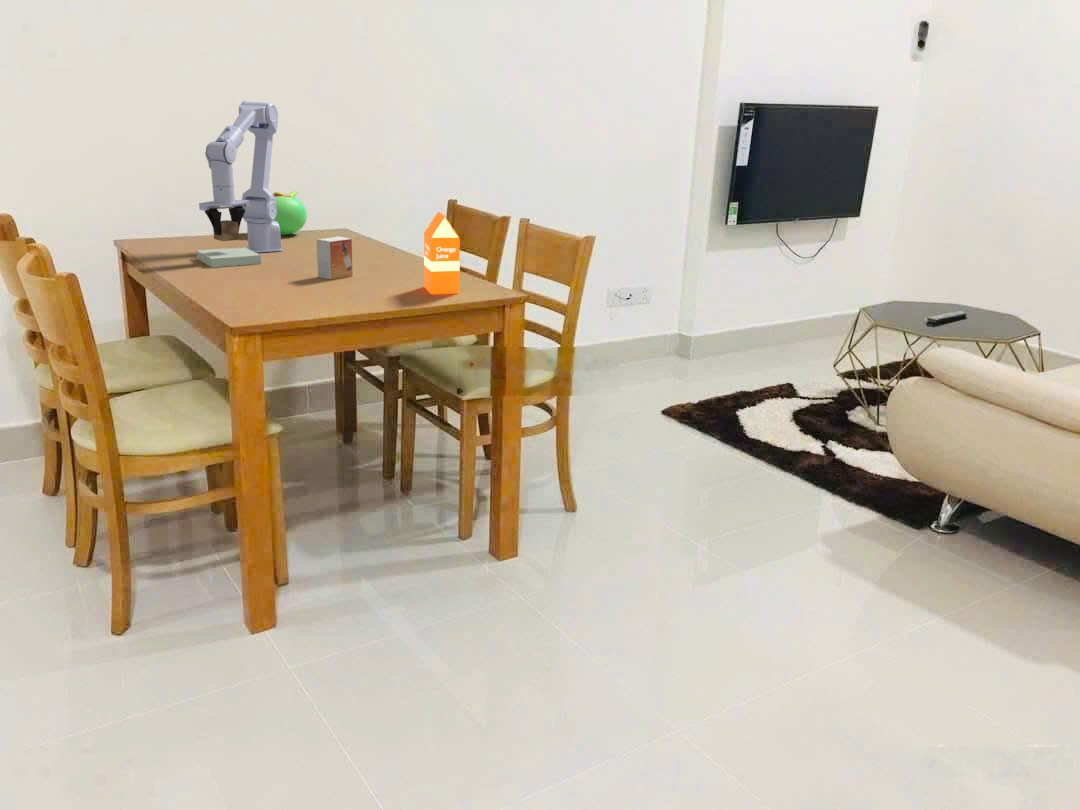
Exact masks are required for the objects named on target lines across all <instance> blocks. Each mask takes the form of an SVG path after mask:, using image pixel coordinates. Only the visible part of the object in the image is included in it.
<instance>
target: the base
mask: <svg viewBox="0 0 1080 810" xmlns="http://www.w3.org/2000/svg"><path fill="white" fill-rule="evenodd" d="M245 247H246V246H244V247H243V246H241V247H229V248H228V247H227V248H226V247H225V248H213V249H199V250H196V258H197V260H199V261H200V262H202V263H203V264H205V265H207V266H209V267H210V268H226V267H225V266H227V267H237V266H238V265H240V266H250V264H252V265H260V264H262V257H261V254H259V253H255V252H253V251H251V250H249V249H247V248H245ZM238 267H239V266H238Z"/></svg>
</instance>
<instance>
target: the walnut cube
mask: <svg viewBox="0 0 1080 810" xmlns="http://www.w3.org/2000/svg"><path fill="white" fill-rule="evenodd" d="M212 229H213V228H212ZM212 231H213V239H214V240H217V241H221V242H229V241H239V240H240V234H239V233H240V230H239V231H238V222H235V221H231V219H230V220H229V219H226V220H221V235H215V232H214V229H213V230H212Z"/></svg>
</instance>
